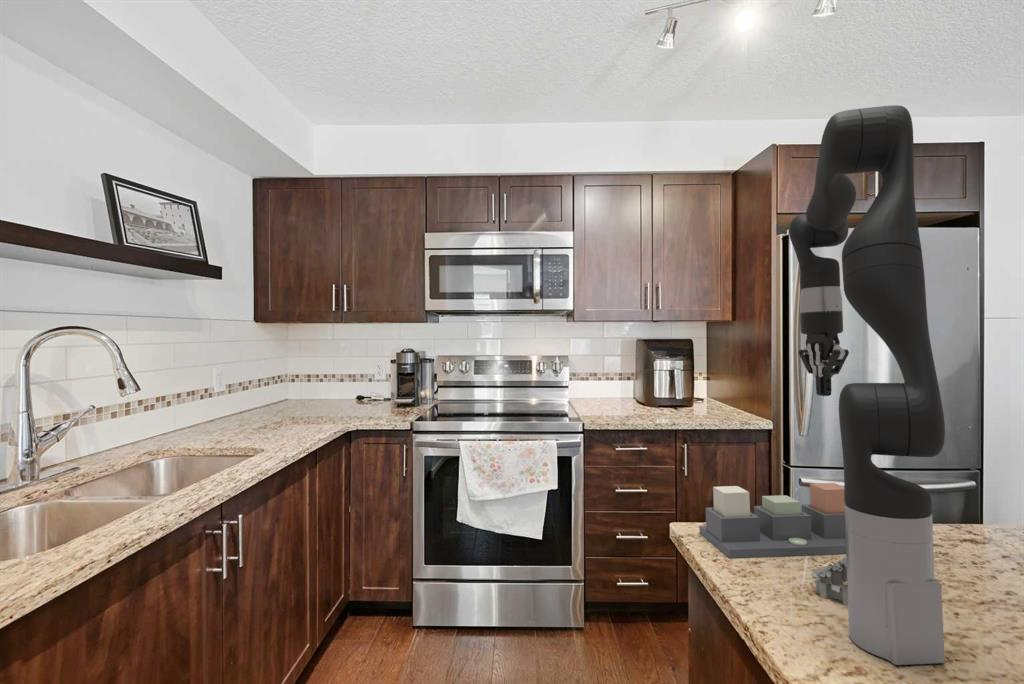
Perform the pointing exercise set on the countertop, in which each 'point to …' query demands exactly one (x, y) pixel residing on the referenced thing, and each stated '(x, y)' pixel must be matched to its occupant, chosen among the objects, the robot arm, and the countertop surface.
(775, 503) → the sage key
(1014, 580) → the countertop surface
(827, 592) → the grey ruined fortress
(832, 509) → the terracotta key
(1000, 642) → the countertop surface
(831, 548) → the key panel
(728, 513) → the cream key
